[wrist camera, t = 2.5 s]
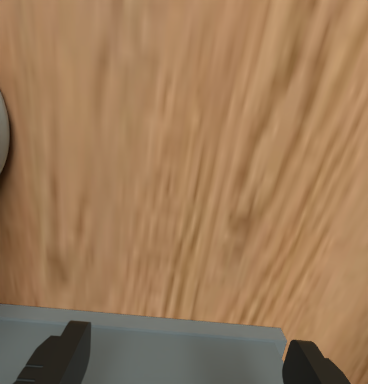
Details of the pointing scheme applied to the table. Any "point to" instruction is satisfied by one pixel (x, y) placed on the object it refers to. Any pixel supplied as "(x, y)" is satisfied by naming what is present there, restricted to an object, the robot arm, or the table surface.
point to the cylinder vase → (3, 133)
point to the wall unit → (147, 348)
